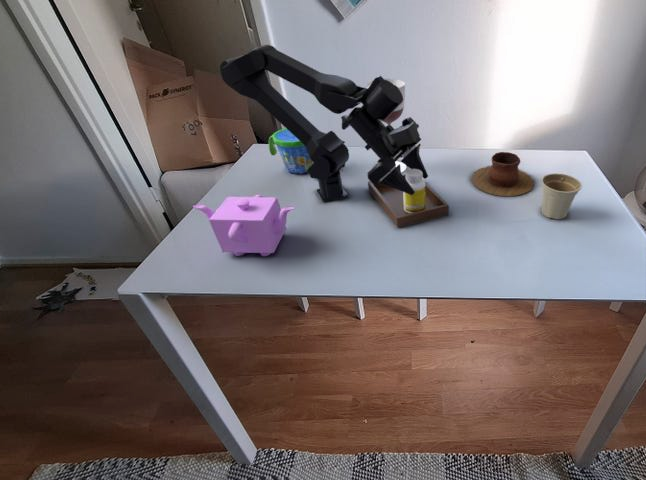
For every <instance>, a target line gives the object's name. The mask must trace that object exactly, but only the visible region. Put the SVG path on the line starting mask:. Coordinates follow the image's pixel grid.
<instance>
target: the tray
mask: <svg viewBox="0 0 646 480" xmlns="http://www.w3.org/2000/svg"><path fill="white" fill-rule="evenodd" d="M402 175H403V177H404V178H405V179H406V177H405V173H403V174H402ZM381 180H382V179H380V180H379V181H378V182H377V183H376V184H375V185H373V184H372V183H371V181H370V180H369V181H367V186H368V187H367V188H368V191H369V193H370V194H371V195H372V197H373V198H374V200H375V201H376V202H377V203H378V205H379V206H380V207H381V208H382V209H383V210H384V212H385V213H386V215H387V216H388V217H389V218H390V220H391V221H392V223H393V224H394V225H395V226H396V228H397V229H399V228H402V227H406V226H410V225H414V224H418V223H421V222H425V221H429V220H432V219H436V218H440V217H444V216H446V215H449V214H450V213H449V212H450V205H449V204H448V203H447V202H446V201H445V200H444V199H443V198H442V197H441V196H440V195H439V194H438V193H437V192H436V191H435V190H434V188H432V187H431V186H430V185H429V184H428V183H427V182H426V181H425V184H426V208H425V210H421V211H417V212H413V213H407V212H406V211H405V210H404V202H403V191H400V190H398V189H395V188H393V187H390V186H387V185H384V184H381V185H380V184H379V182H380V181H381Z"/></svg>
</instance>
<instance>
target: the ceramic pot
mask: <svg viewBox="0 0 646 480" xmlns="http://www.w3.org/2000/svg"><path fill="white" fill-rule="evenodd" d="M520 164H521V158H520V156H518V155H517V154H516V153H513V152H508V151H499V152H495V153H494V154H493V155H492V156H491V165H490V166H485V167H481V168H478V169H477V170H476V171H474V172H473V174H472V175H471V177H470V181H471V183H472V184H473V185H474V187H476V188H477V189H478V190H481V191H482V192H484V193H487V194H490V195H495V196H499V197H513V196H520V195H523V194H527V193H528V192H531V191H532V190H533V188H534V183H535V182H534V179H533V178H532V177H531V175H529V174H527V173H526V172H524V171H522V170H520V169H519V165H520Z"/></svg>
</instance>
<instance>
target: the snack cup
mask: <svg viewBox="0 0 646 480" xmlns="http://www.w3.org/2000/svg"><path fill="white" fill-rule="evenodd" d="M275 145H276V146H275ZM276 147H277V148H276ZM268 150H269V153H270V155H271V156H276V155H277V152H278V154H279V155H280V157H281V160H282V162H283V165H284V167H285V169H286V170H287V172H288V173H292V174H301V175H303V174H304V173H308V171H307V170H308V169H309V167H310V166H311V165H312V164H313V163H314V162H313V161H312V160H311V159H310V157H309V154H308V151H307V149H306V146H305V145H304V144H303V143H302V142H301V141H299V140H298V139H297V138H296V137H295V136H294V135H293V134H292V133H291V132H290V131H289V130H288V129H286V128H282V129H280V130H277V131H275V132H273V134H272V135H271V136H269V138H268ZM277 150H278V151H277Z"/></svg>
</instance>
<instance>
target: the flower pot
mask: <svg viewBox="0 0 646 480" xmlns="http://www.w3.org/2000/svg"><path fill="white" fill-rule="evenodd" d="M541 184H542V199H541V200H542V201H541V214H542V215H543V216H544V217H546V218H548V219H553V220H563V219H564V218H566V217H567V215H568V213H569V210H570V208H571V206H572V204H573V202H574V200H575V197H576V195H577V194H578V192H579V191H581V189H582V187H583V184H582V182H581V181H580V180H579V179H578V178H577V177H574V176H572V175H569V174H565V173H558V172H557V173H556V172H555V173H548V174H546V175H543V176H542V178H541Z"/></svg>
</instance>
